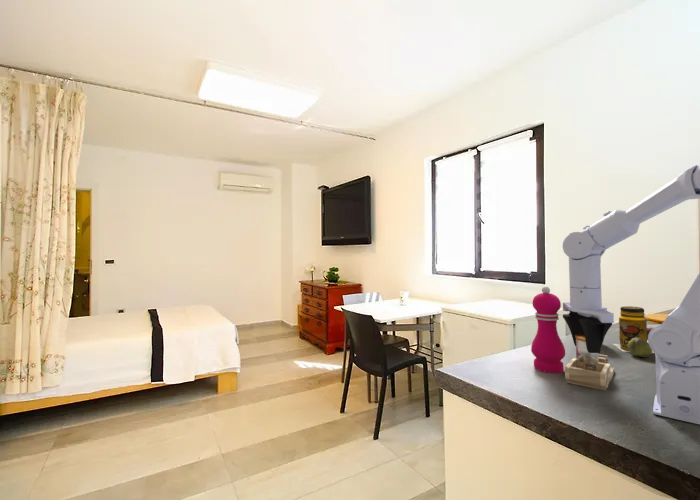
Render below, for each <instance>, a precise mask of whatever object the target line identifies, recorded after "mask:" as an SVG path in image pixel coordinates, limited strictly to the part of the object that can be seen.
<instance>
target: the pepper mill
mask: <svg viewBox="0 0 700 500" xmlns="http://www.w3.org/2000/svg"><path fill="white" fill-rule="evenodd" d="M550 292H551V289H550V288H549V286H544V287H542V289H541V293H538V294H536V295H535V296H534V297H533V299H532V307H533V309H534V310H535V313H534V314H535V319H536V320H537V330H536V331H537V332H536V334H535V336H534V338H533V340H532V342H531V347H530V348H531V349H530V351H531V353H532V355H533V356H534V357H535V358H534V359H533V367H534V369H536V370H537V371H541V372H543V373H549V374H550V373H551V374H557V373H558V374H559V373H562V372H564V371H565V367H564V362H562V360H563V359H564V358H565V356H566V348H565V346H564V343H563V341H562V340H561V337H560V335H559V334H558V333H559V332H558V329H557V328H558V327H557V323H558V322H557V321H558V320H559V319H560V318H559V315H560V314H559V313H558V312H559V310H561V308H562V307H561V306H562V303H561V299H560V298H559V297H558V295H555V294H553V293H550Z"/></svg>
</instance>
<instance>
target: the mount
mask: <svg viewBox="0 0 700 500" xmlns="http://www.w3.org/2000/svg"><path fill="white" fill-rule="evenodd" d="M598 362H599V363H598V364H596V368H593V367H588V364H586V363H582V362H579V361H577V360H576V358H574V357H573V358H572V359H570V361H569V362H568V363H567V364H565V366H564V378H565V383H568V384H572V385H577V386H580V387H581V386H582V387H587V388H590V389H591V388H592V389H597V390H601V391H607V389H608V387H609V385H610V384H611V381H612V378H613V376H614V374H615V373H616V372H615V367H611V363H609V360H608V355H605V354H603V355H601V354H598Z"/></svg>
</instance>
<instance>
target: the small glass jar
mask: <svg viewBox="0 0 700 500" xmlns="http://www.w3.org/2000/svg"><path fill="white" fill-rule="evenodd" d="M575 338H576V346H575V350H576V351H575V352H576V353H575V355H576V356H575V357H576V360H577V361H579V362H582V363H586V364H598V363H599V362H598V353H589V352H588V350H587V347H586V340H585V334H582V333H581V334H576V335H575Z"/></svg>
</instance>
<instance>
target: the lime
mask: <svg viewBox="0 0 700 500" xmlns="http://www.w3.org/2000/svg"><path fill="white" fill-rule="evenodd" d="M628 349H629V351H630V352H629V353H631V354H632V355H634V356H636V357H640V358H648V357H649V356H651V355H652V354H653V353H652V349H651V348H650V346H649V343H648V341H647V342H646V341H644V340H643V339H641V338H633V339H632V340H630V341H629V343H628Z"/></svg>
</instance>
